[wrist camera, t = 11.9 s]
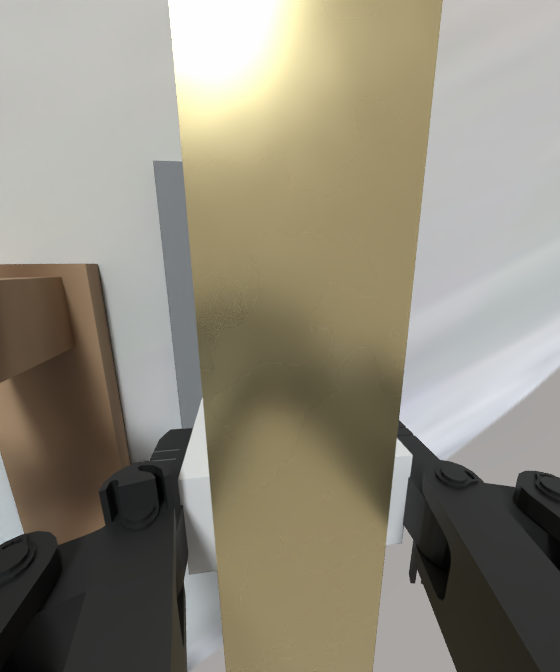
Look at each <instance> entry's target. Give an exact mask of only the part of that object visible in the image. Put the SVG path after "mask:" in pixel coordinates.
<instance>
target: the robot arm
mask: <svg viewBox="0 0 560 672" xmlns="http://www.w3.org/2000/svg"><path fill="white" fill-rule="evenodd" d="M98 492H99V497H100V502H101V506H102V511H103V516H104V521H105V526H104V527H102V528H101V529H98V530H96V531H94V532H92V533H90V534H87V535H84V536H82V537H79V538H76V539H73V540H71V541H68V542H65V543H63V544H60V545H58V542H57V538H56V537H55V536H54V535H53V534H51V533H50V532H45V531H35V532H31V533H27V534H22V535H20V536H18V537H16V538H13V539H11V540H9V541H7V542H4V543H3V544H1V545H0V672H187V652H186V600H185V589H184V576H185V571H186V565H187V561H188V570H189V575H190V574H197V573H203V572H210V571H217V560H216V549H215V537H214V525H213V513H212V502H211V490H210V478H209V467H208V455H207V443H206V431H205V420H204V408H203V397H202V400H201V403H200V407H199V410H198V414H197V417H196V420H195V424H194V427H193V428H186V429H174V430H170V431H168V432H167V433H166V434H165V435H164V436H163V437H162V438H161V439H160V440H159V442H158V444H157V446H156V448H155V452H154V453H153V455H152V457H151V459H150V461H146V462H139V463H135V464H132V465H129V466H126V467H125V468H123V469H121V470H119V471H117V472H116V473H114V474H113V475H112V476H111V477H109V478H108V479H107V480H106V481H105V482H104V483H103V485H102V487H101V488H100V490H99V491H98ZM404 526H405V527H406V529H407V530H408V532H409V534H410V535H411V537H412V538H413V547H412V554H411V562H410V570H409V577H410V582H411V583H415V580H416V573H417V570H418V572H419V575H420V577H421V583H422V584H423V585H424V588H425V590H426V593H427V596H428V598H429V601H430V603H431V606H432V608H433V611H434V614H435V616H436V619H437V621H438V624H439V626H440V629H441V632H442V634H443V636H444V639H445V642H446V644H447V647H448V650H449V652H450V655H451V657H452V660H453V663H454V665H455V668H456V670H457V672H560V478H559V477H556V476H554V475H552V474H548V473H543V472H538V471H524V472H522V473H519V475H518V479H517V483H516V487H510V486H503V485H496V484H488V483H484V482H483V481H482V480H481V479H480V478H479V477H478V476H477V475H476V474H475V473H473V472H472V471H471V470H469V469H467V468H465V467H464V466H462V465H459V464H456V463H453V462H449V461H443V460H439V459H438V458H437V457H436V456H435V455H434V454H433V453H432V452H431V451H430V450H429V449H428V448H427V447H426V446H425V445H424V444H423V443H422V442H421V441H420V440H419V439H418V438H417V437H416V436H413V433H412V432H411V431H410V430H409V429H408V428H406V426H405V425H403V424H402V423H401V422H400V421H399V423H398V432H397V442H396V451H395V461H394V471H393V480H392V490H391V499H390V509H389V518H388V528H387V538H386V545H393V544H400V543H402V538H403V530H404Z"/></svg>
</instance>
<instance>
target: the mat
mask: <svg viewBox="0 0 560 672" xmlns="http://www.w3.org/2000/svg"><path fill="white" fill-rule="evenodd" d="M153 165H154V174H155V183H156V192H157V202H158V211H159V220H160V229H161V239H162V248H163V257H164V266H165V276H166V285H167V294H168V303H169V313H170V322H171V331H172V341H173V350H174V359H175V368H176V378H177V387H178V396H179V405H180V415H181V424H182V429H186V428H193V427H194V424H195V420H196V417H197V414H198V410H199V407H200V403H201V400H202V397H203V396H202V384H201V373H200V361H199V349H198V337H197V326H196V314H195V302H194V290H193V279H192V267H191V255H190V243H189V232H188V220H187V208H186V196H185V185H184V173H183V162H176V161H153Z"/></svg>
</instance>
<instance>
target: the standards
mask: <svg viewBox="0 0 560 672" xmlns="http://www.w3.org/2000/svg"><path fill="white" fill-rule="evenodd" d="M0 452H1V456H2V459H3V463H4V466H5V469H6V473H7V476H8V480H9V483H10V486H11V490H12V493H13V497H14V500H15V504H16V507H17V510H18V514H19V517H20V521H21V524H22V527H23V531H24V534H27V533H31V532H35V531H45V532H50V533H51V534H53V535H54V536H55V537H56V538H57V542H58V545H60V544H63V543H65V542H68V541H71V540H73V539H76V538H79V537H82V536H84V535H87V534H90V533H92V532H94V531H96V530H98V529H101V528H102V527H104V526H105V521H104V516H103V511H102V506H101V502H100V497H99V492H98V491H99V490H100V488H101V487H102V485H103V483H104V482H105V481H106V480H107V479H108V478H109V477H111V476H112V475H113V474H114V473H116V472H117V471H119V470H121V469H123V468H125V467H126V466H129V465H130V460H129V454H128V448H127V441H126V435H125V429H124V423H123V417H122V411H121V405H120V399H119V393H118V387H117V381H116V375H115V369H114V363H113V356H112V350H111V344H110V338H109V332H108V326H107V320H106V314H105V308H104V302H103V296H102V290H101V284H100V277H99V271H98V265H97V264H4V265H0Z"/></svg>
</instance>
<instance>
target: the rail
mask: <svg viewBox="0 0 560 672" xmlns="http://www.w3.org/2000/svg"><path fill="white" fill-rule="evenodd" d="M442 1H443V0H169V9H170V20H171V32H172V44H173V56H174V67H175V79H176V91H177V103H178V114H179V126H180V138H181V149H182V161H183V173H184V185H185V196H186V208H187V220H188V232H189V243H190V255H191V267H192V279H193V290H194V302H195V314H196V326H197V337H198V349H199V361H200V373H201V384H202V396H203V408H204V420H205V431H206V443H207V455H208V467H209V478H210V490H211V502H212V513H213V525H214V537H215V549H216V560H217V572H218V584H219V596H220V607H221V619H222V631H223V643H224V654H225V664H226V665H225V666H226V672H372V671H373V662H374V652H375V643H376V633H377V624H378V614H379V605H380V594H381V585H382V576H383V565H384V556H385V547H386V538H387V528H388V518H389V509H390V499H391V490H392V480H393V471H394V461H395V451H396V442H397V432H398V423H399V413H400V403H401V394H402V384H403V375H404V365H405V356H406V346H407V336H408V327H409V317H410V308H411V298H412V289H413V279H414V269H415V260H416V250H417V241H418V231H419V221H420V212H421V202H422V193H423V183H424V174H425V164H426V154H427V145H428V135H429V126H430V116H431V107H432V97H433V87H434V78H435V68H436V59H437V49H438V40H439V30H440V20H441V11H442Z"/></svg>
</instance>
